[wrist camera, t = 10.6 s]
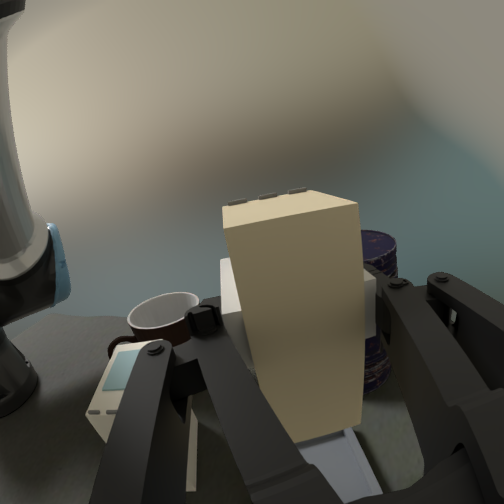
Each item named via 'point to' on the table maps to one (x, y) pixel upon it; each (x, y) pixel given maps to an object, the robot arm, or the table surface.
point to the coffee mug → (159, 320)
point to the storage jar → (376, 364)
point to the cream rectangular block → (302, 305)
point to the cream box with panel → (110, 397)
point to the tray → (341, 464)
